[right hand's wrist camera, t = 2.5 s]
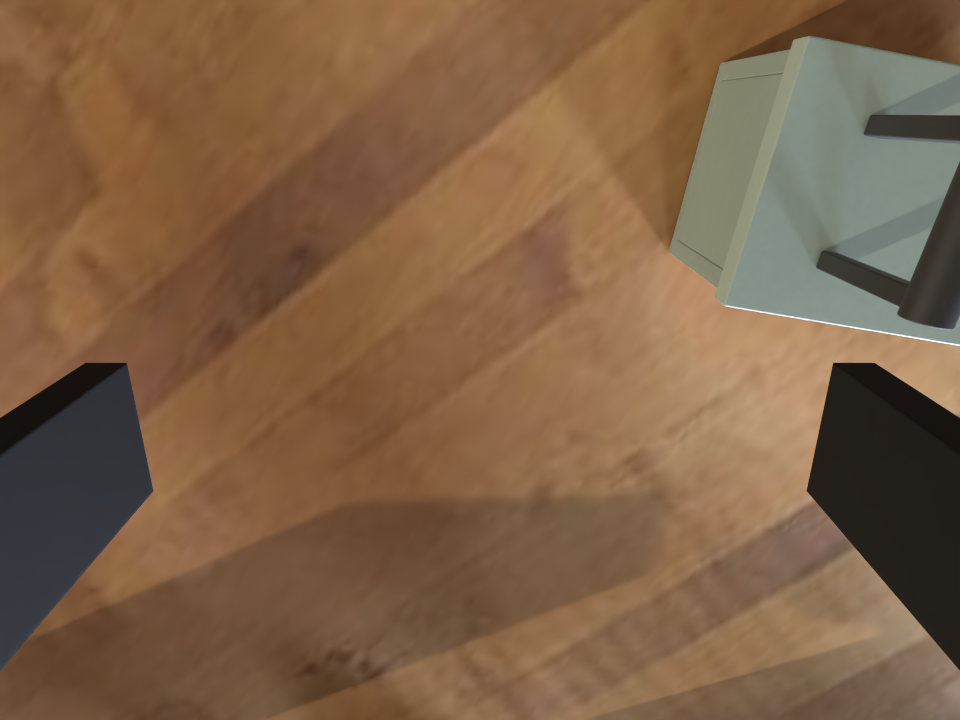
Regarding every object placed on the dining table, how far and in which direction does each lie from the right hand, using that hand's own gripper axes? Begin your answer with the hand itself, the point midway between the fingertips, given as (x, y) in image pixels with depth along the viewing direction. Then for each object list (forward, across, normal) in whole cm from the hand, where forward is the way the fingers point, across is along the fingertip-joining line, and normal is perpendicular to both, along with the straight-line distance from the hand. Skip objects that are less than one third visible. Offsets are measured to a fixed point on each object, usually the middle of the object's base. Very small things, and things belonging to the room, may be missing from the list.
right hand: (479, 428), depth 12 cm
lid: (+14, -17, -2) cm, 22 cm away
